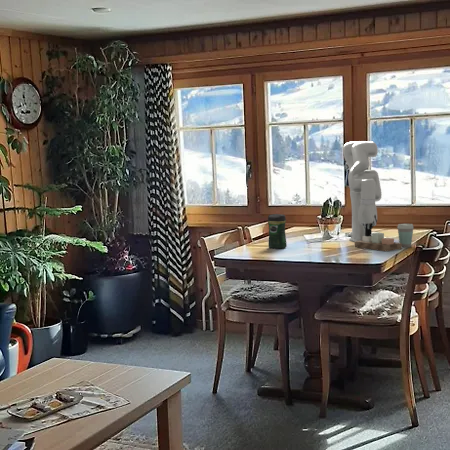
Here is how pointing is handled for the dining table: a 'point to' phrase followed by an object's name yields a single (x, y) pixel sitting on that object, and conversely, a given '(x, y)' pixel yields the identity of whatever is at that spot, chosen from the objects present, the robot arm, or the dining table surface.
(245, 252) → the dining table surface
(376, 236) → the key sage
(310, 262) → the dining table surface
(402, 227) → the coffee cup
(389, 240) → the key terracotta
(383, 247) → the brown tray
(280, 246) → the coffee jar
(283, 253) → the dining table surface
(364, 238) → the pale grey block
